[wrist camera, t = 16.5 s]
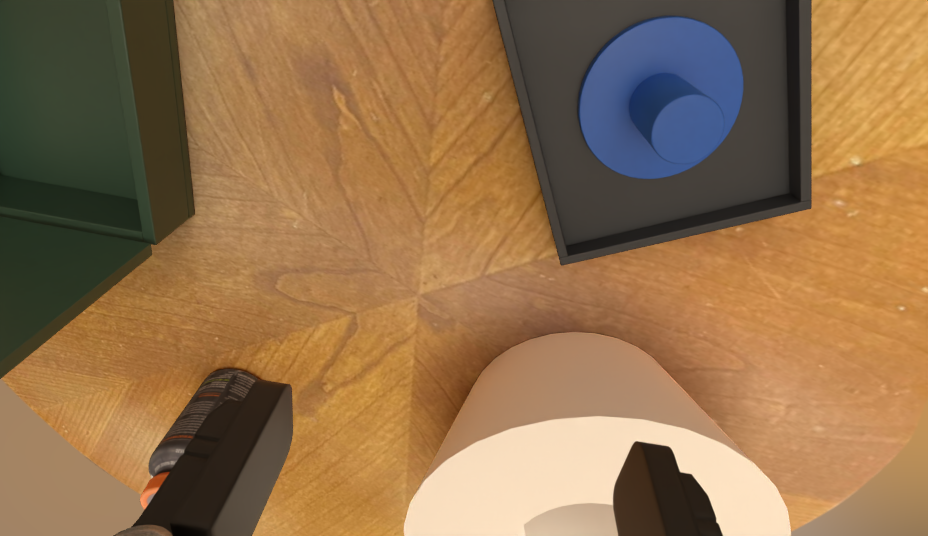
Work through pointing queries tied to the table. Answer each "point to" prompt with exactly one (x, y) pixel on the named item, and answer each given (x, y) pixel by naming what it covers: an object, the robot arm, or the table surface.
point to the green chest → (93, 117)
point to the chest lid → (53, 280)
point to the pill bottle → (194, 422)
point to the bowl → (578, 446)
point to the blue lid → (660, 97)
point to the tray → (694, 190)
